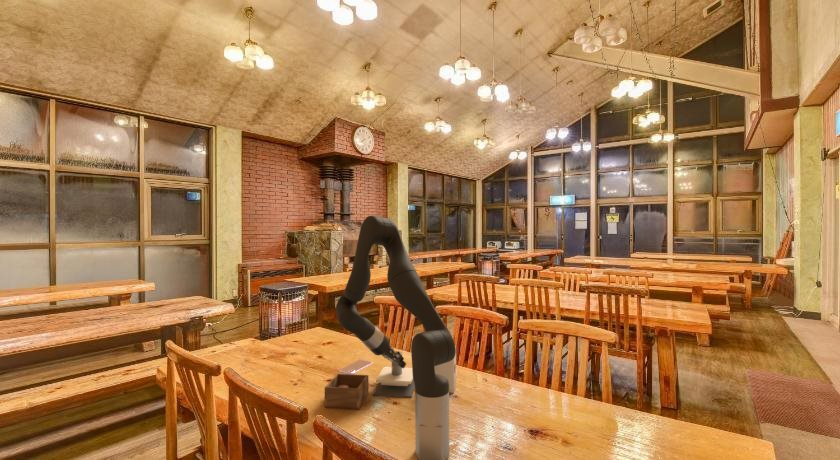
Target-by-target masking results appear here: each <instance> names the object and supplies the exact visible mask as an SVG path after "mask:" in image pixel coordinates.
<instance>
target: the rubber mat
mask: <svg viewBox="0 0 840 460" xmlns="http://www.w3.org/2000/svg"><path fill="white" fill-rule="evenodd" d="M414 392H415V384H414V380H412V382H411V384H408V386H394V385H381V382H378V385H377V387H376V389H375V390H374V392H373V393H372V394H373V396H374V397H390V398H391V397H392V398H410V399H411V398H412V397H413V394H414Z"/></svg>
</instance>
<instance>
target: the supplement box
mask: <svg viewBox="0 0 840 460" xmlns="http://www.w3.org/2000/svg"><path fill="white" fill-rule="evenodd" d="M455 348H456V349H457V346H456V345H455ZM435 374H439V375H442V376H444V377H446V378H447V379H448V381H449V394H454V393H455V391H456V390H455V389H456V386H457V352H456V353H455V357H454V359H453V360H451V361H449V362H447V363H443V364H440V365H437V366H435Z"/></svg>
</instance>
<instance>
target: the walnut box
mask: <svg viewBox="0 0 840 460" xmlns="http://www.w3.org/2000/svg"><path fill="white" fill-rule="evenodd" d="M369 386H370V385H369V375H368V374H355V373H354V374H347V373H336V374H335V375H334V377H332V378H331V379H330V381H329V382H327V384H326V385H325V386H324V408H325V409H337V410H352V411H353V410H355V411H359V410H360V409H361V408H362V406H363V404H364V403H365V401H366V400H367V398H368V396H369V394H370V393H369V392H370V391H369V388H370V387H369Z"/></svg>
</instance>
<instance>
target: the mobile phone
mask: <svg viewBox="0 0 840 460" xmlns="http://www.w3.org/2000/svg"><path fill="white" fill-rule="evenodd" d="M372 364H373V362H372V361H369V360H365V359H358V360H356V361H355V362H352V363H350V364H348V365H346V366H344V367H342V368H340V369H339V370H338V371H339V372H340V373H341V374H355V373H358V372H360V371H361V370H363V369H365V368H367V367H369V366H371V365H372Z"/></svg>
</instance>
